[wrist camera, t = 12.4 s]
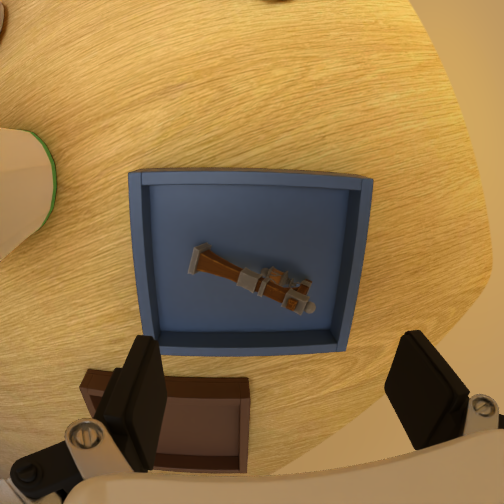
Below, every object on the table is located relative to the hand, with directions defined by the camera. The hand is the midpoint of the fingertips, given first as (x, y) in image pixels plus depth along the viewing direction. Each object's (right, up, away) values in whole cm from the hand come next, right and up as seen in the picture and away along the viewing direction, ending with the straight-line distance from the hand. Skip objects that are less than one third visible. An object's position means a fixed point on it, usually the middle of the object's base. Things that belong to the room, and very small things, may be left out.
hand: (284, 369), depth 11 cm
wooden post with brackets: (-1, +4, +10) cm, 11 cm away
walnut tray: (-9, -12, +16) cm, 22 cm away
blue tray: (-1, +4, +11) cm, 12 cm away
